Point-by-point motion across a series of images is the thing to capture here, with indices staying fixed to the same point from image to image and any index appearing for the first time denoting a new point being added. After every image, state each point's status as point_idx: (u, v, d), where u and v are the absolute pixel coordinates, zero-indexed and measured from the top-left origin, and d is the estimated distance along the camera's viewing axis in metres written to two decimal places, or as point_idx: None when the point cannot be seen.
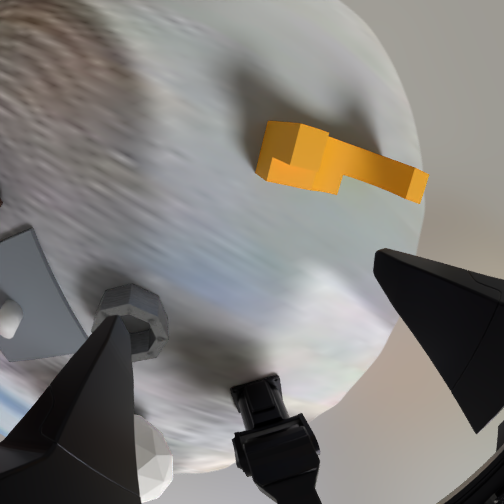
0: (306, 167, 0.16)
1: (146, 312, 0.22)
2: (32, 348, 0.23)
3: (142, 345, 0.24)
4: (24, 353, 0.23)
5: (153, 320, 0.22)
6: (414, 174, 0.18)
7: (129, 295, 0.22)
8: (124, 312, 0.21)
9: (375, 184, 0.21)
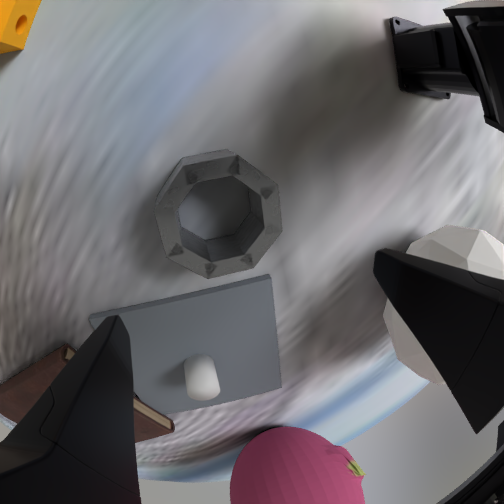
0: None
1: (171, 183, 0.13)
2: (261, 357, 0.24)
3: (257, 201, 0.16)
4: (268, 368, 0.25)
5: (190, 174, 0.13)
6: None
7: (156, 205, 0.15)
8: (170, 220, 0.14)
9: None
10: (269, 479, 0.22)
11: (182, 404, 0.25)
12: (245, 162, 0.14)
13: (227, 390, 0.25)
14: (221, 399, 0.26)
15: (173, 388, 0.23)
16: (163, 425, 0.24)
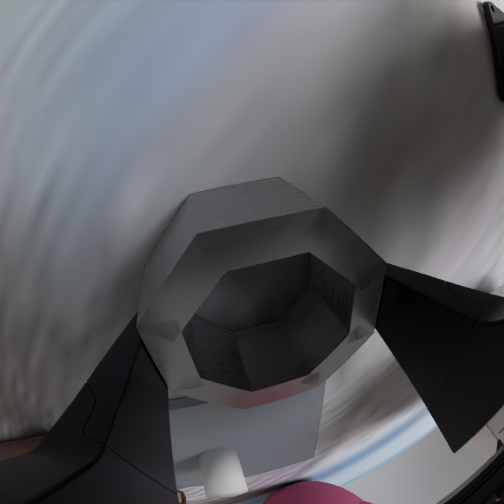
0: None
1: (170, 275, 0.06)
2: (296, 440, 0.16)
3: (337, 284, 0.08)
4: (302, 446, 0.17)
5: (214, 253, 0.06)
6: None
7: (141, 298, 0.07)
8: (173, 341, 0.07)
9: None
10: None
11: (195, 481, 0.17)
12: (338, 222, 0.06)
13: (250, 468, 0.17)
14: None
15: (184, 472, 0.16)
16: None
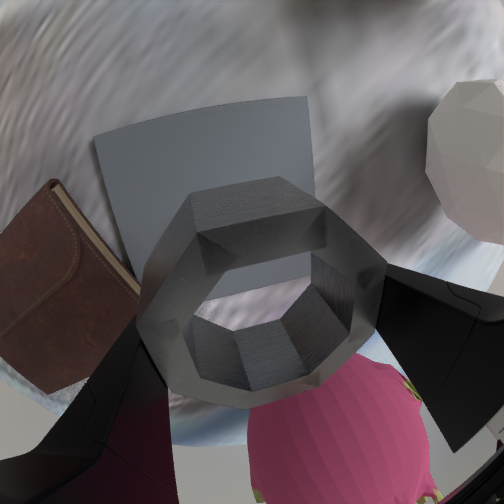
0: None
1: (169, 273, 0.06)
2: None
3: (338, 284, 0.08)
4: None
5: (214, 252, 0.06)
6: None
7: (141, 298, 0.07)
8: (172, 341, 0.07)
9: None
10: (306, 404, 0.19)
11: None
12: (339, 221, 0.06)
13: (250, 265, 0.22)
14: (242, 283, 0.22)
15: None
16: None
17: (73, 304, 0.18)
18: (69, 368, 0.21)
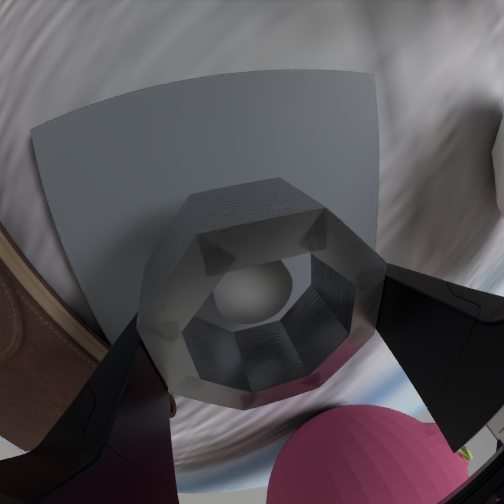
0: None
1: (169, 275, 0.06)
2: None
3: (338, 285, 0.08)
4: None
5: (215, 254, 0.06)
6: None
7: (141, 299, 0.07)
8: (172, 342, 0.07)
9: None
10: (348, 491, 0.11)
11: None
12: (339, 223, 0.06)
13: None
14: None
15: None
16: None
17: (29, 377, 0.10)
18: (43, 435, 0.13)
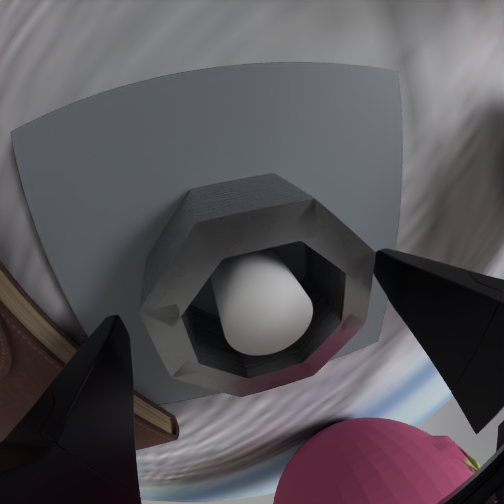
0: None
1: (171, 261, 0.06)
2: None
3: (330, 274, 0.09)
4: (373, 292, 0.13)
5: (212, 241, 0.06)
6: None
7: None
8: (173, 326, 0.07)
9: None
10: None
11: None
12: (328, 213, 0.07)
13: None
14: None
15: None
16: (157, 427, 0.12)
17: (23, 398, 0.09)
18: None
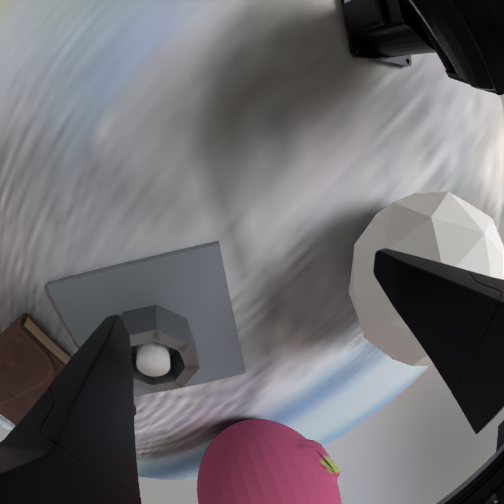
0: None
1: None
2: (217, 334, 0.23)
3: None
4: (227, 348, 0.24)
5: None
6: None
7: None
8: None
9: None
10: (233, 472, 0.21)
11: None
12: (163, 333, 0.18)
13: None
14: None
15: None
16: None
17: None
18: None
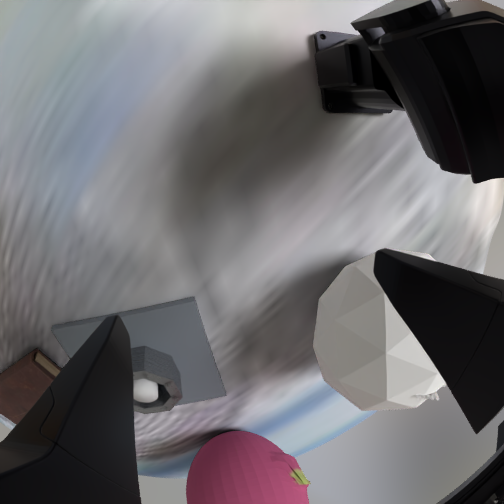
0: None
1: None
2: (199, 367, 0.26)
3: None
4: (209, 377, 0.27)
5: None
6: None
7: None
8: None
9: None
10: (215, 478, 0.24)
11: None
12: (149, 373, 0.21)
13: None
14: None
15: None
16: None
17: None
18: None
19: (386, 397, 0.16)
